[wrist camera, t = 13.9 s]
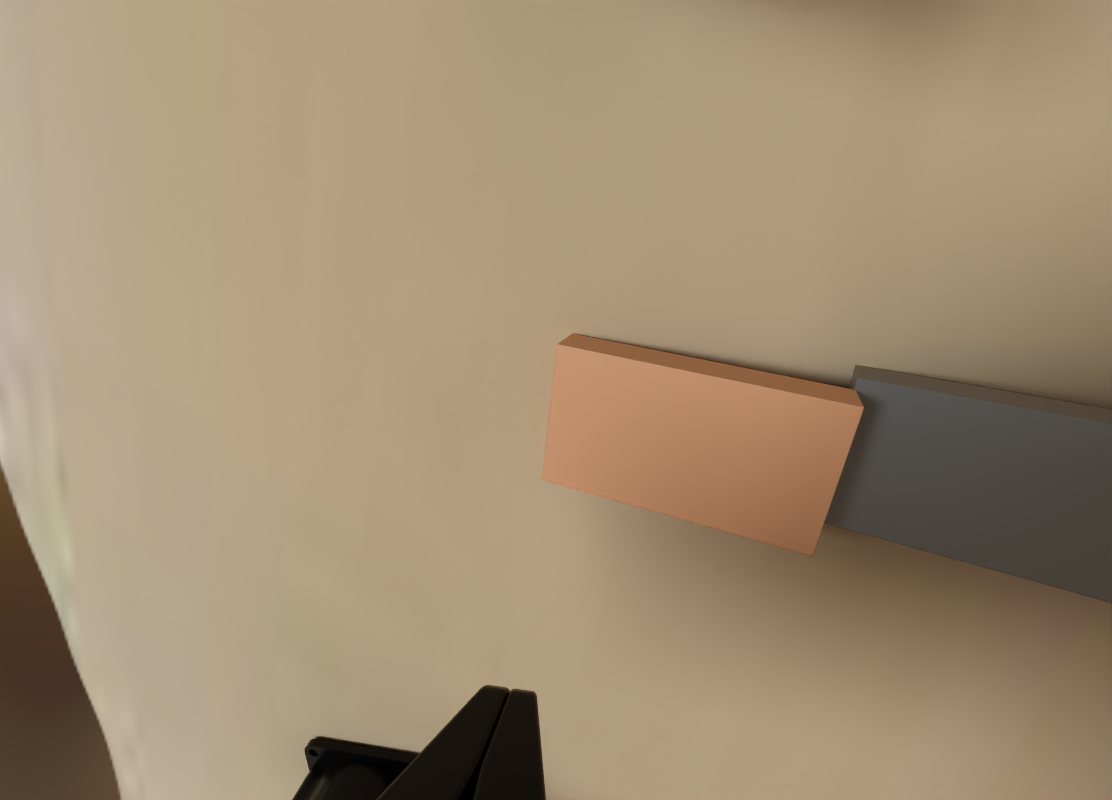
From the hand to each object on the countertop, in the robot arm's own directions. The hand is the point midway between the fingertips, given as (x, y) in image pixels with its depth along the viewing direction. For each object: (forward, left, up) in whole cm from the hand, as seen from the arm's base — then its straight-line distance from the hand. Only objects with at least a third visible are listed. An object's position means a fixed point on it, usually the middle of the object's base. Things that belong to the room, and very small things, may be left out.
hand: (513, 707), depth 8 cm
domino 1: (-1, +1, -12) cm, 12 cm away
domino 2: (+8, 0, -12) cm, 14 cm away
